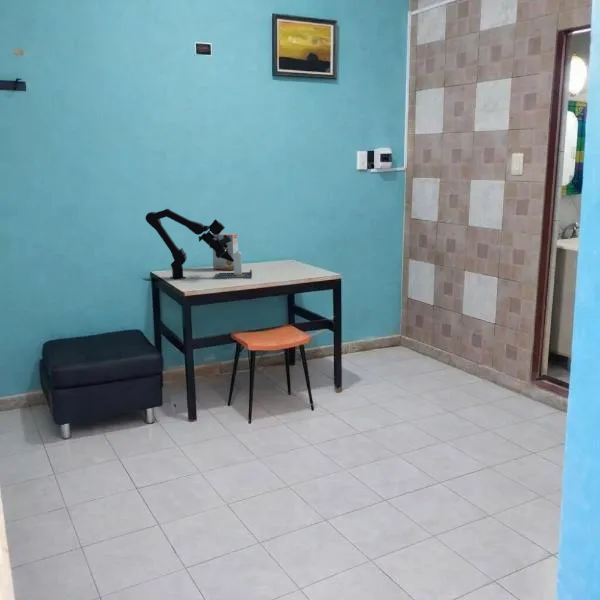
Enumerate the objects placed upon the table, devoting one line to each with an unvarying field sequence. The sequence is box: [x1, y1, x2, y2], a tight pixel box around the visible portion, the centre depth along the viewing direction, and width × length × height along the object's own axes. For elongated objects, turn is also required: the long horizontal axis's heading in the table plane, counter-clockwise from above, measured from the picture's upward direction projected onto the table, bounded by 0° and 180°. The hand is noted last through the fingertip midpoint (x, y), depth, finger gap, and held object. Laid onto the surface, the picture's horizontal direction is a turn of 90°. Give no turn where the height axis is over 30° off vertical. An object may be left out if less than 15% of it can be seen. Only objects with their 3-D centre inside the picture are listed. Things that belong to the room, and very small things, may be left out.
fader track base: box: [213, 269, 253, 280], centre depth 353 cm, size 20×10×3 cm, turn 93°
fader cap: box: [233, 250, 243, 275], centre depth 352 cm, size 4×5×13 cm
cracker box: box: [212, 232, 239, 271], centre depth 376 cm, size 14×6×21 cm, turn 65°
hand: (233, 261), depth 351 cm, fingers closed, pressing on fader cap
